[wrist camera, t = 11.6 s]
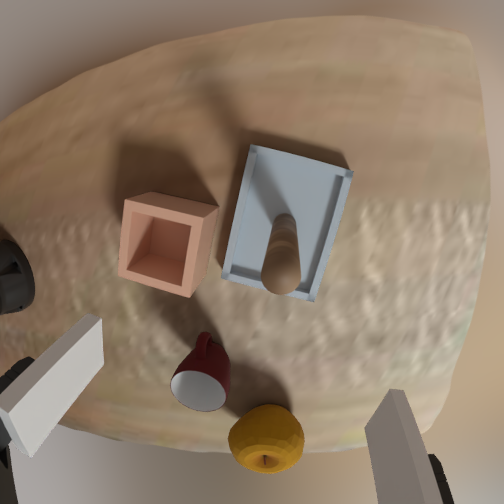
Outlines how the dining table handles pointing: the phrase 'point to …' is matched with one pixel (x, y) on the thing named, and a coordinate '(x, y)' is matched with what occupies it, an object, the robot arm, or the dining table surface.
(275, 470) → the apple
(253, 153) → the tray
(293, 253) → the dowel
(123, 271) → the pink open square box
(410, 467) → the robot arm
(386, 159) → the dining table surface
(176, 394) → the mug
